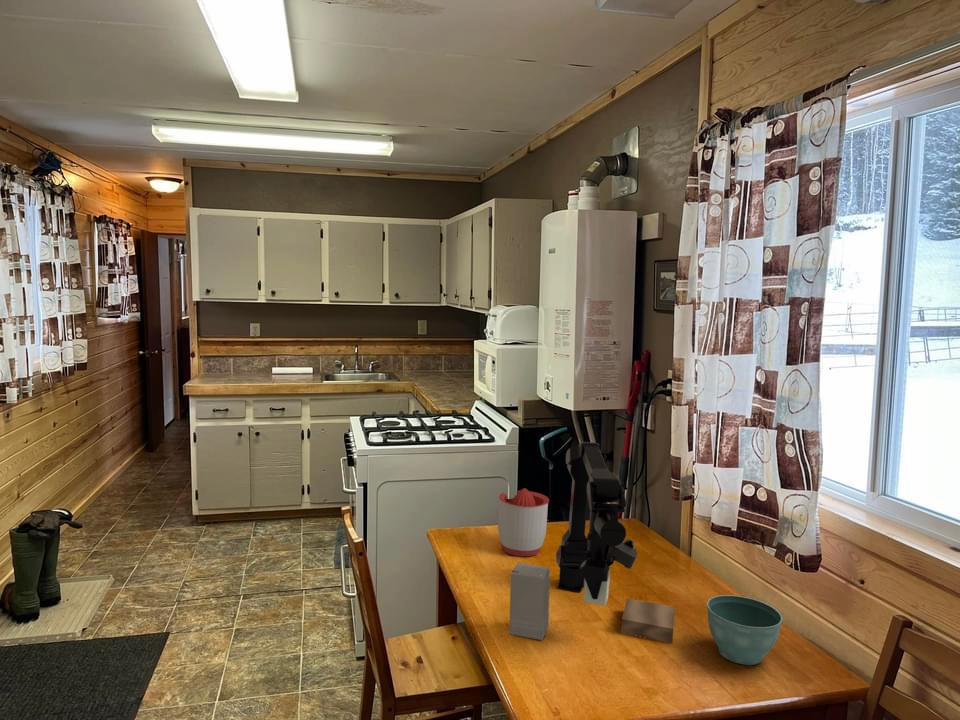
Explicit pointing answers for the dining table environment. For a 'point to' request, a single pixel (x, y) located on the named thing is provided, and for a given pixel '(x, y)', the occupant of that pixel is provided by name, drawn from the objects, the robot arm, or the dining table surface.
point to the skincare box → (529, 601)
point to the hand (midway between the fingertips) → (596, 594)
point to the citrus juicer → (522, 522)
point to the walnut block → (648, 620)
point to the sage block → (601, 596)
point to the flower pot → (743, 627)
